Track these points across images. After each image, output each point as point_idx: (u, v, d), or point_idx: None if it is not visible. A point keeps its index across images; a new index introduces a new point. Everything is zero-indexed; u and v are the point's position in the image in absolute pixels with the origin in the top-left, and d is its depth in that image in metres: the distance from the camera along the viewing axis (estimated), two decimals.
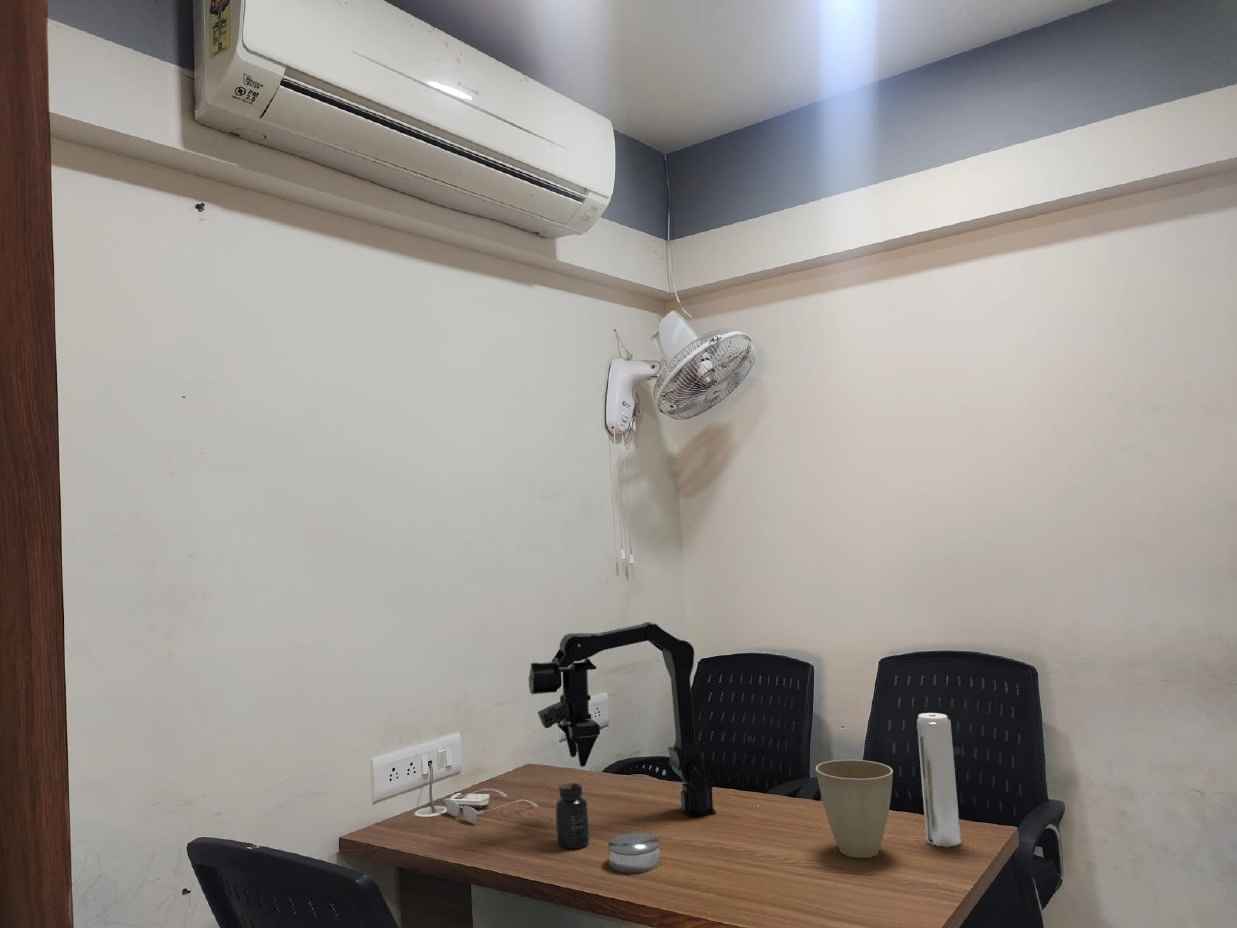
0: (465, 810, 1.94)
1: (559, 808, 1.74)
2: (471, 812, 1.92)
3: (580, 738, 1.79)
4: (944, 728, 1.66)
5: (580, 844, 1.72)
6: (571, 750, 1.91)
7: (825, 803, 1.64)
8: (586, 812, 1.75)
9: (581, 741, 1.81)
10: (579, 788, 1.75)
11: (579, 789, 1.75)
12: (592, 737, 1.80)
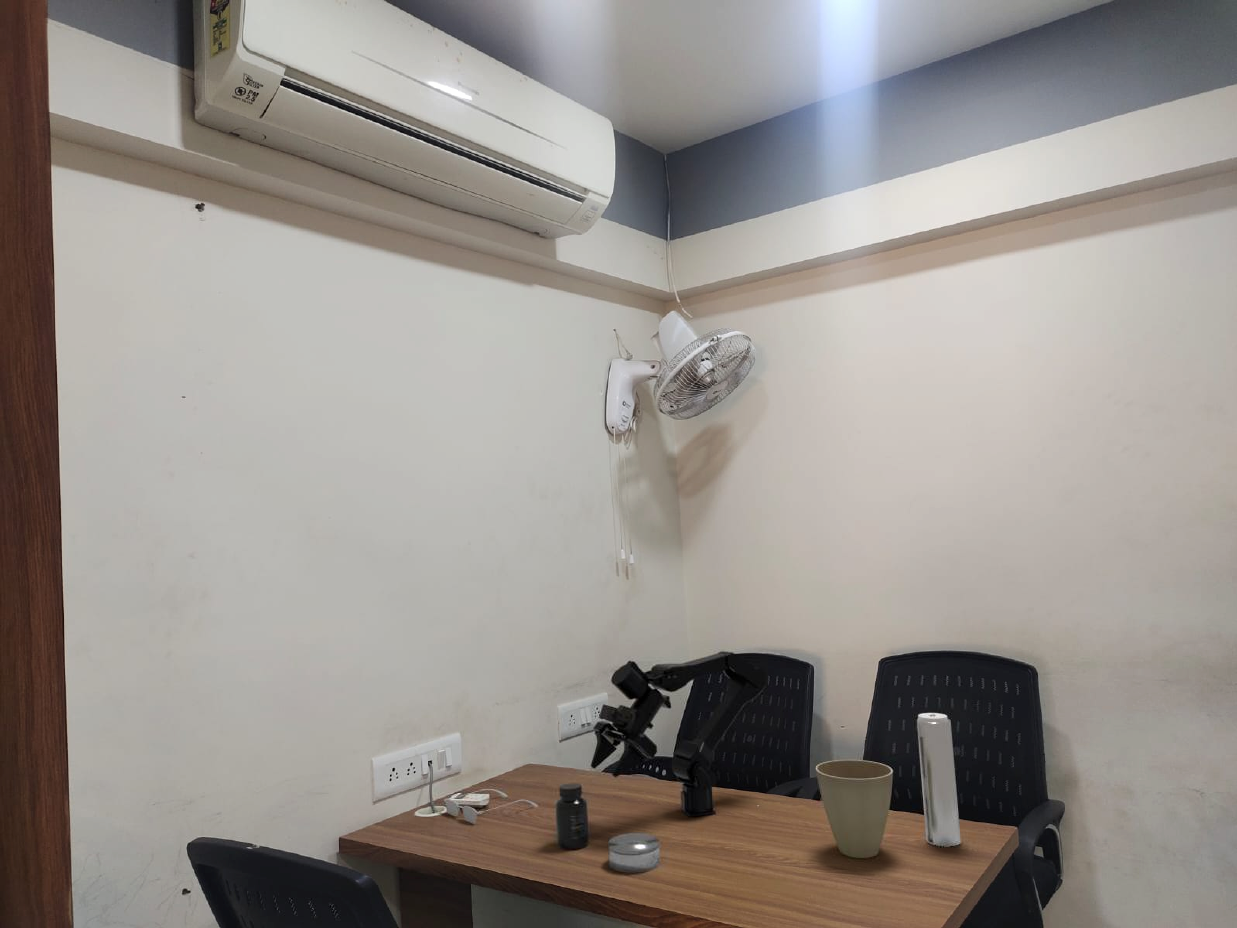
0: (465, 810, 1.94)
1: (559, 808, 1.74)
2: (471, 812, 1.92)
3: (636, 749, 1.77)
4: (944, 728, 1.66)
5: (580, 844, 1.72)
6: (595, 760, 1.85)
7: (825, 803, 1.64)
8: (586, 812, 1.75)
9: (630, 753, 1.78)
10: (579, 788, 1.75)
11: (579, 789, 1.75)
12: (644, 756, 1.77)
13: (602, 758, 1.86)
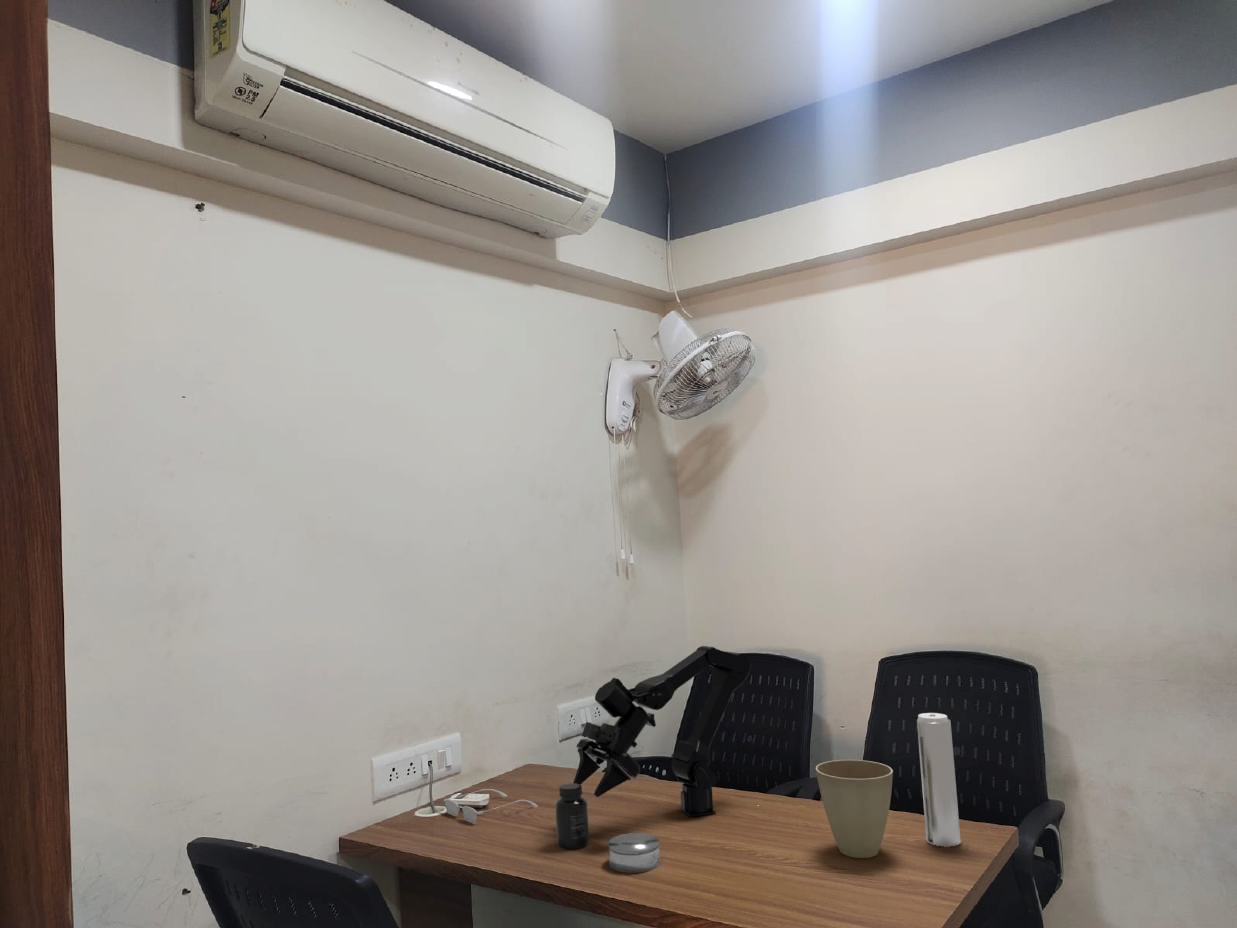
0: (465, 810, 1.94)
1: (559, 808, 1.74)
2: (471, 812, 1.92)
3: (619, 768, 1.74)
4: (944, 728, 1.66)
5: (580, 844, 1.72)
6: (577, 779, 1.82)
7: (825, 803, 1.64)
8: (586, 812, 1.75)
9: (612, 773, 1.75)
10: (579, 788, 1.75)
11: (579, 789, 1.75)
12: (627, 776, 1.75)
13: (585, 777, 1.84)
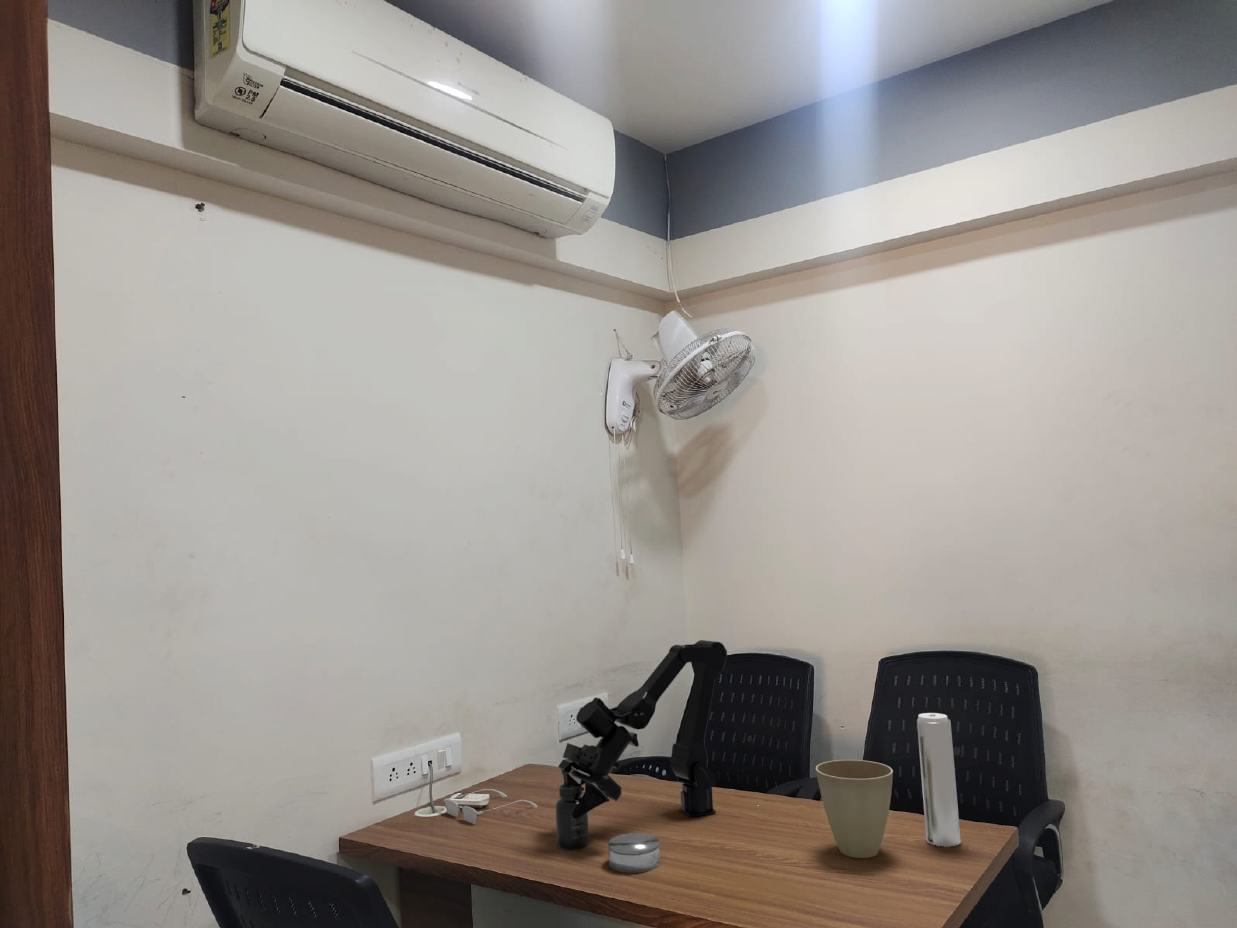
0: (464, 810, 1.94)
1: (559, 808, 1.74)
2: (471, 812, 1.92)
3: (597, 790, 1.72)
4: (944, 728, 1.66)
5: (580, 844, 1.72)
6: None
7: (825, 803, 1.64)
8: None
9: (591, 794, 1.73)
10: (579, 788, 1.75)
11: (579, 789, 1.75)
12: (605, 797, 1.73)
13: None
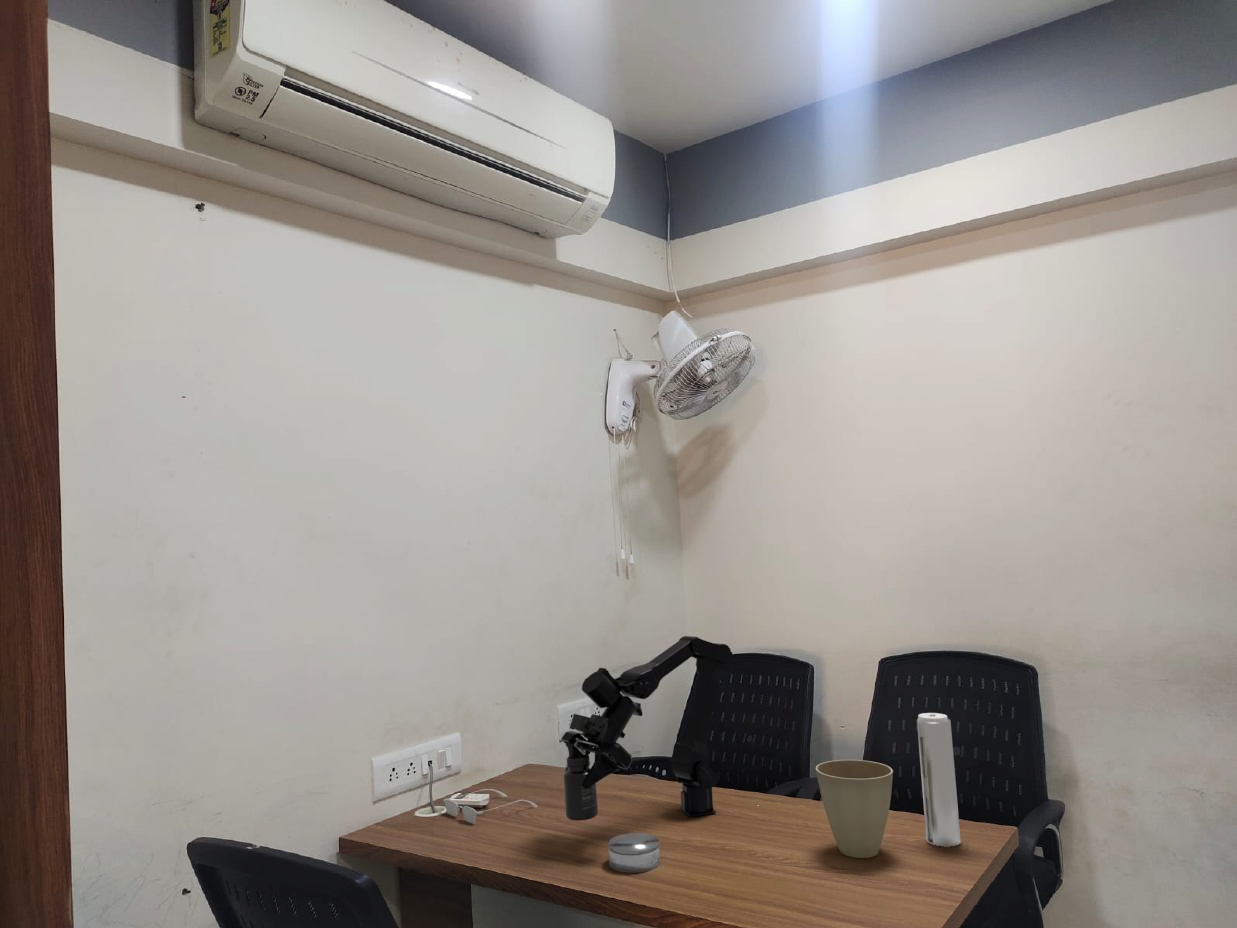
0: (464, 810, 1.94)
1: (568, 780, 1.71)
2: (471, 812, 1.92)
3: (608, 758, 1.70)
4: (944, 728, 1.66)
5: (590, 814, 1.70)
6: None
7: (825, 803, 1.64)
8: None
9: (601, 764, 1.72)
10: (587, 758, 1.73)
11: (587, 759, 1.73)
12: (615, 766, 1.71)
13: None
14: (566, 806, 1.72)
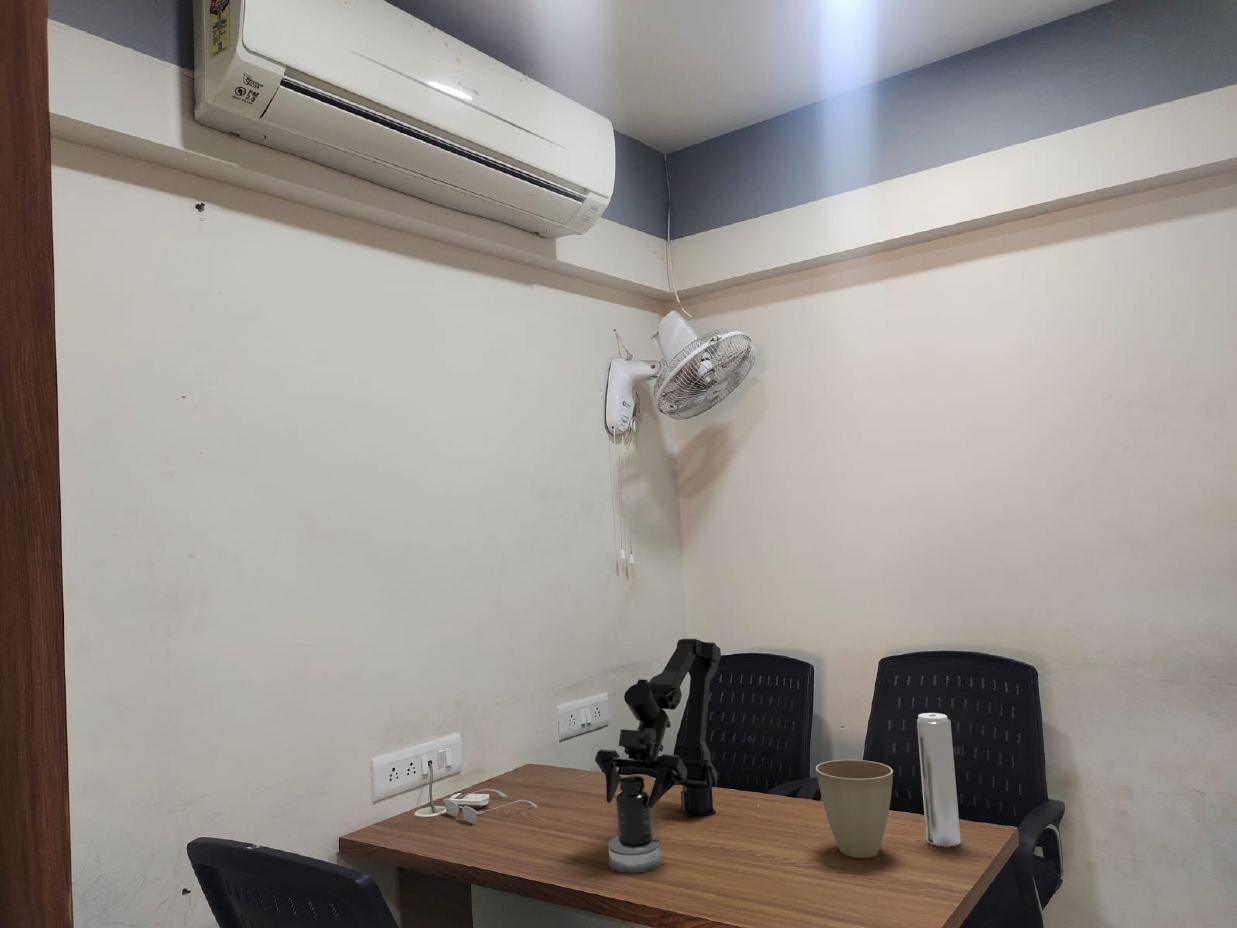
0: (464, 811, 1.94)
1: (628, 804, 1.61)
2: (471, 812, 1.92)
3: (672, 773, 1.64)
4: (944, 728, 1.66)
5: (650, 838, 1.62)
6: (610, 794, 1.66)
7: (825, 803, 1.64)
8: None
9: None
10: (643, 779, 1.65)
11: (643, 781, 1.65)
12: (677, 780, 1.65)
13: (614, 791, 1.68)
14: (624, 833, 1.61)
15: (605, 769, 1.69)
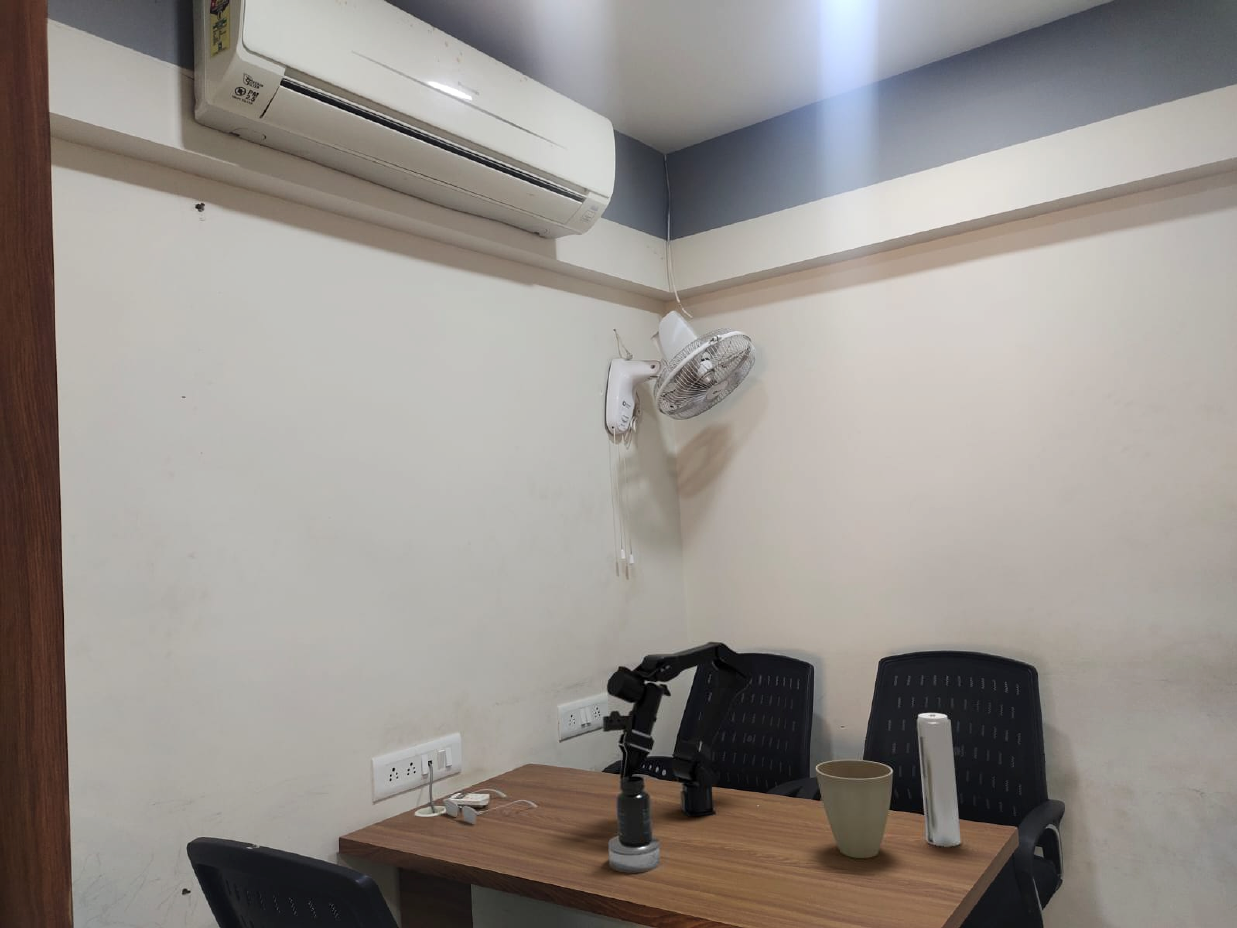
0: (464, 810, 1.94)
1: (628, 804, 1.61)
2: (471, 812, 1.92)
3: (631, 746, 1.76)
4: (944, 728, 1.66)
5: (650, 838, 1.62)
6: (623, 772, 1.86)
7: (825, 803, 1.64)
8: None
9: (632, 753, 1.78)
10: None
11: (643, 781, 1.65)
12: (643, 751, 1.76)
13: None
14: (624, 833, 1.61)
15: (621, 751, 1.89)
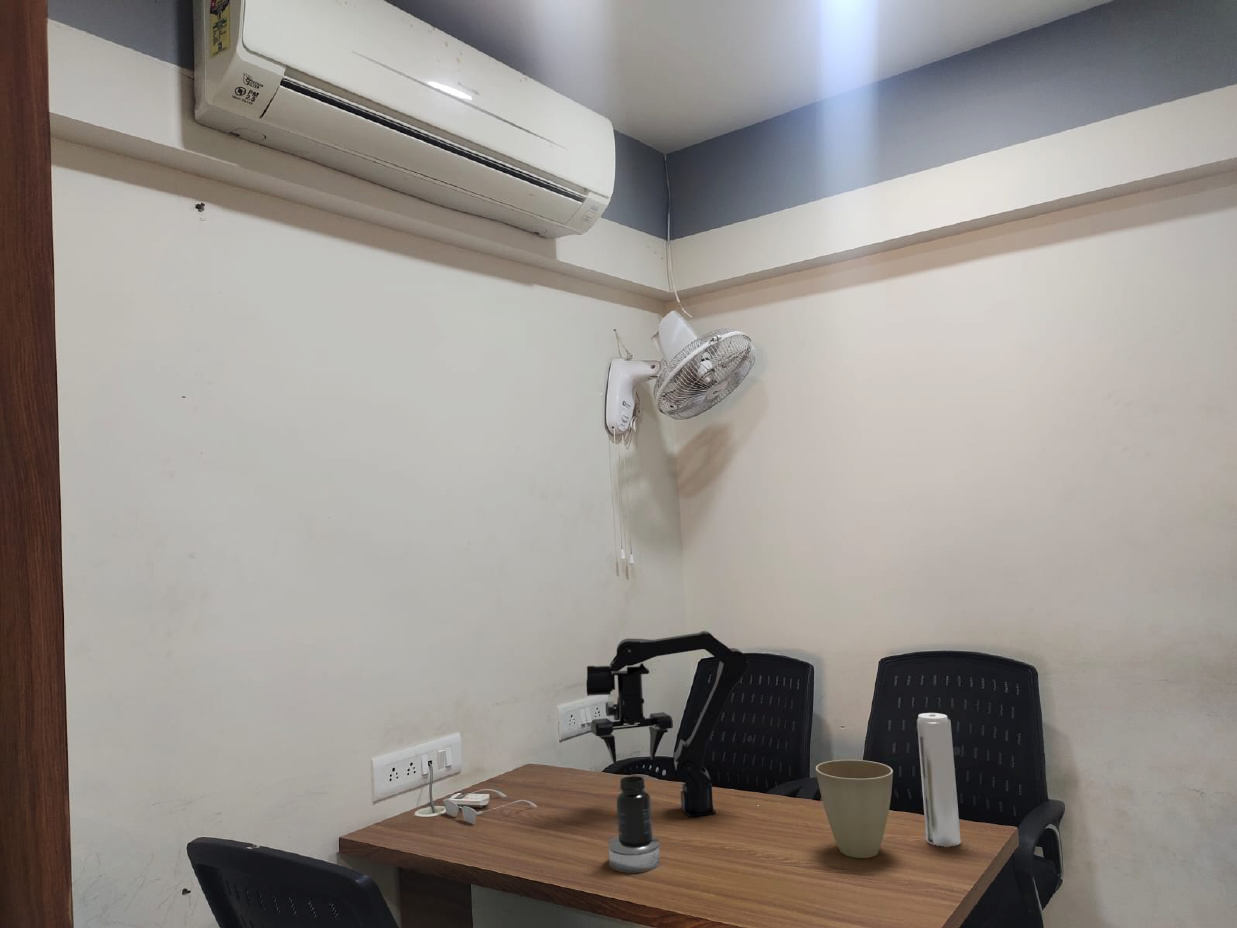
0: (464, 811, 1.94)
1: (629, 804, 1.61)
2: (471, 813, 1.92)
3: None
4: (944, 728, 1.66)
5: (650, 838, 1.62)
6: (651, 752, 1.96)
7: (825, 803, 1.64)
8: None
9: None
10: (643, 780, 1.65)
11: (643, 781, 1.65)
12: (600, 737, 1.91)
13: (653, 747, 1.94)
14: (624, 833, 1.61)
15: None
